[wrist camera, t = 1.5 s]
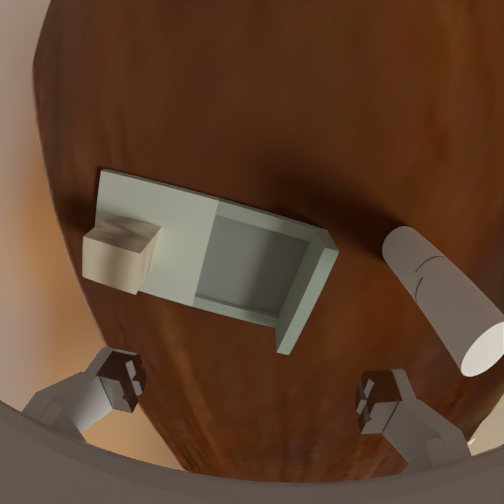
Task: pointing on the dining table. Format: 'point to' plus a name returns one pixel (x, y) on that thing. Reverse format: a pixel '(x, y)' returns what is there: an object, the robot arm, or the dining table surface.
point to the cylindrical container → (447, 300)
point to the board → (225, 253)
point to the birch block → (120, 252)
